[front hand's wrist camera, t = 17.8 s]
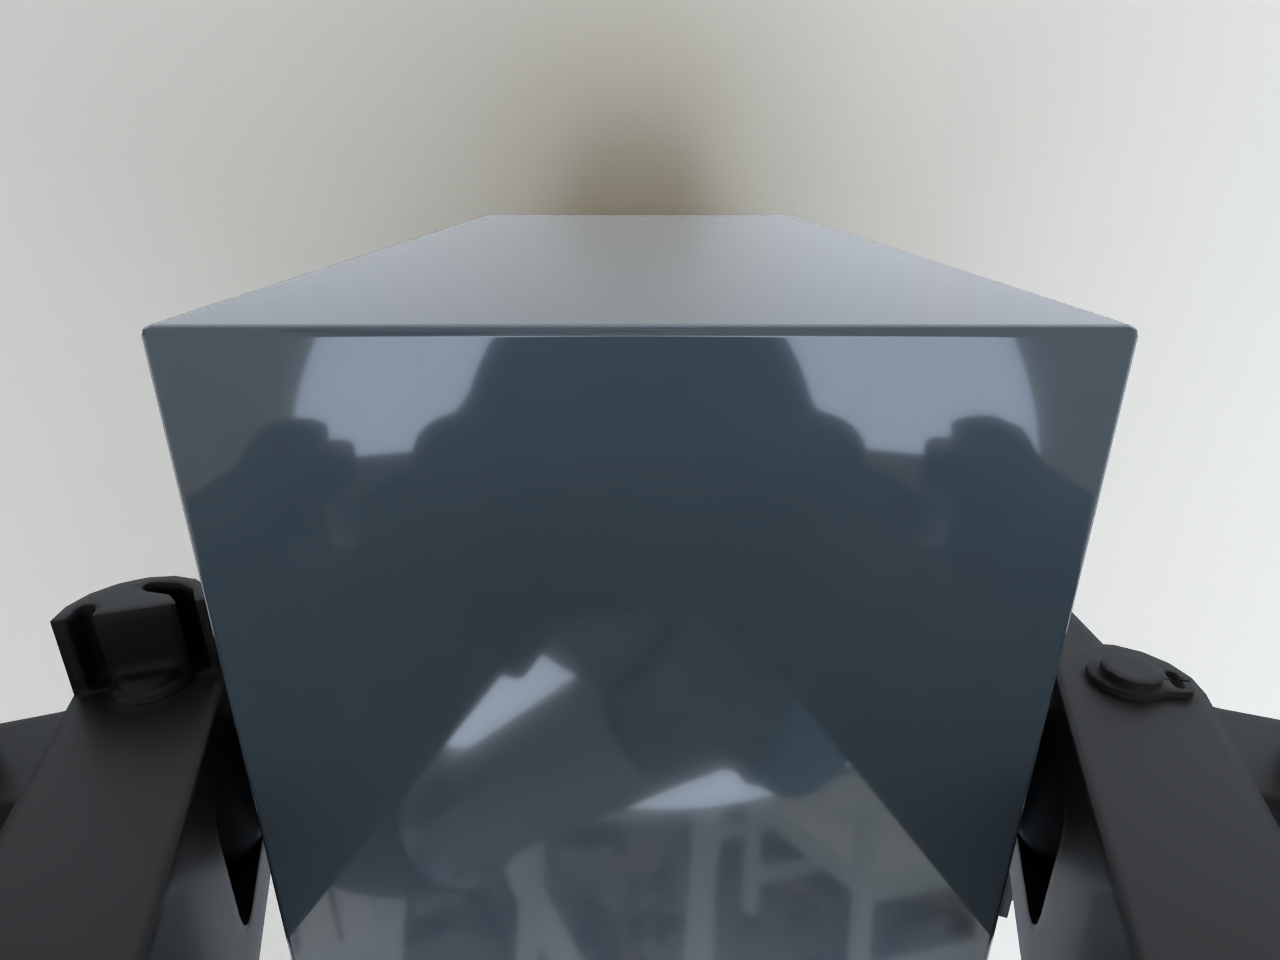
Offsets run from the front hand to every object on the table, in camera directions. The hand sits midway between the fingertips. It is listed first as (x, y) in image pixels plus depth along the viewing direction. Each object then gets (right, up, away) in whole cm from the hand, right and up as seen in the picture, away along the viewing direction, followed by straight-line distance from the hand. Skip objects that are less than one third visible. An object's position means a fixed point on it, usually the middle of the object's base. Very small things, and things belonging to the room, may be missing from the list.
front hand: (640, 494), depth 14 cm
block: (0, +1, +3) cm, 3 cm away
